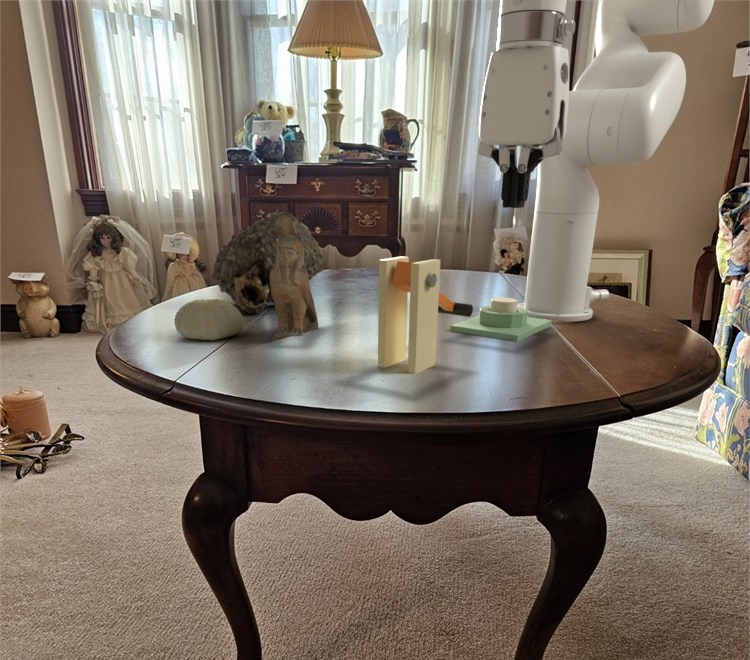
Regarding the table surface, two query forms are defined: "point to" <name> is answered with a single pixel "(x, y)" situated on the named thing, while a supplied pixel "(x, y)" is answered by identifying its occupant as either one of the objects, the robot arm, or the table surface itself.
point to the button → (504, 305)
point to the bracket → (420, 317)
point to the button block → (502, 324)
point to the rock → (259, 262)
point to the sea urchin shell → (208, 319)
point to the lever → (444, 304)
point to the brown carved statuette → (291, 283)
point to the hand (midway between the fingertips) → (513, 207)
